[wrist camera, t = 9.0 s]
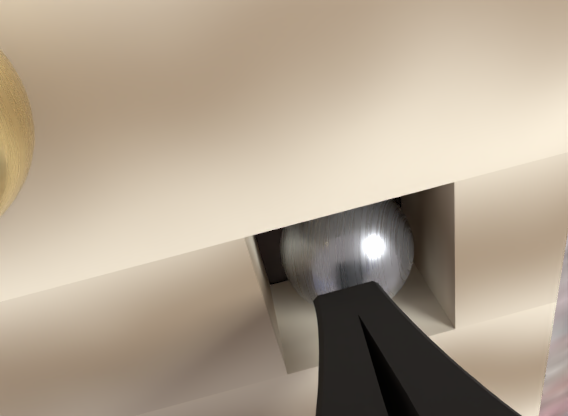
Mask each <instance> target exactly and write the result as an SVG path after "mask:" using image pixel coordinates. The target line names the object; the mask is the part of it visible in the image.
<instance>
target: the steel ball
mask: <svg viewBox="0 0 568 416" xmlns="http://www.w3.org/2000/svg"><path fill="white" fill-rule="evenodd" d="M280 256H281V262H282V266H283V269H284V271H285V274H286V276H287V278H288V280H289V282H290V283H291V285H292V286H293V288H294V289H295V290H296V291H297V293H298V294H299V295H300V296H301V297H303V298H304V299H305V300H306V301H307V302H309V303H310V304H312V305H314V303H313V300H314V299H315V298H316V297H317V296H318V295H321V294H325V293H329V292H333V291H336V290H340V289H344V288H347V287H351V286H355V285H359V284H362V283H366V282H370V281H375V282H377V283H379V285H380V286H381V287H382V288H383V290H384V291H385V292H386V293H387V294H388V295H389V297H390V298H391V299H392V298H393V297H394V296H395V295H396V294H397V293H398V291H399V290H400V289H401V288H402V286H403V285H404V283H405V282H406V280H407V278H408V276H409V273H410V271H411V267H412V264H413V259H414V240H413V234H412V230H411V227H410V224H409V222H408V220H407V218H406V216H405V214H404V213H403V211H402V210H401V208H400V207H399V206H398V205H397V204H396V203H395V201H394V200H393V199H388V200H385V201H381V202H377V203H373V204H369V205H366V206H362V207H358V208H354V209H350V210H347V211H343V212H339V213H335V214H332V215H328V216H324V217H320V218H316V219H313V220H309V221H305V222H301V223H297V224H294V225H290V226H286V227H283V229H282V233H281V239H280Z"/></svg>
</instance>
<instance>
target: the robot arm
mask: <svg viewBox="0 0 568 416" xmlns="http://www.w3.org/2000/svg"><path fill="white" fill-rule="evenodd" d="M313 303H314V307H315V311H316V316H317V324H318V339H319V368H318V393H317V404H316V415H315V416H522V415H520V414H519V413H518V412H516V411H515V410H514V409H512V408H511V407H510V406H508V405H507V404H506V403H504V402H503V401H502V400H501V399H499V398H498V397H497V396H496V395H494V394H493V393H492V392H491V391H489V390H488V389H487V388H486V387H484V386H483V385H482V384H481V383H480V382H478V381H477V380H476V379H475V378H474V377H473V376H471V375H470V374H469V373H468V372H467V371H465V370H464V369H463V368H462V367H461V366H460V365H458V364H457V363H456V362H455V361H454V360H453V359H452V358H451V357H449V356H448V355H447V354H446V353H445V352H444V351H443V350H442V349H441V348H440V347H439V346H438V345H437V344H435V343H434V342H433V341H432V340H431V339H430V338H429V337H428V336H427V335H426V334H425V333H424V332H423V331H422V330H421V329H420V328H419V327H418V326H417V325H416V324H415V323H414V322H413V321H412V320H411V319H410V318H409V317H408V316H407V315H406V314H405V313H404V312H403V311H402V310H401V309H400V308H399V307H398V306H397V304H396V303H395V302H394V301H393V300H392V299H391V298H390V297H389V295H388V294H387V293H386V292H385V291H384V290H383V288H382V287H381V286H380V285H379V283H377V282H375V281H370V282H366V283H362V284H359V285H355V286H351V287H347V288H344V289H340V290H336V291H333V292H329V293H325V294H321V295H318V296H317V297H316V298H315V299H314V300H313Z"/></svg>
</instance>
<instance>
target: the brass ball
mask: <svg viewBox="0 0 568 416" xmlns="http://www.w3.org/2000/svg"><path fill="white" fill-rule="evenodd" d="M34 145H35V127H34V121H33V115H32V109H31V105H30V102H29V99H28V95H27V92H26V90H25V88H24V86H23V84H22V81H21V79H20V77H19V75H18V74H17V72H16V70H15V69H14V67H13V65H12V64H11V62H10V61H9V60H8V58H7V57H6V56H5V54H4V53H3V52H2V50H1V49H0V217H1V216H2V215H3V214H4V213H5V211H6V210H7V209H8V208H9V206H10V205H11V204H12V203H13V201H14V200H15V199H16V198H17V196H18V194H19V192H20V190H21V188H22V186H23V184H24V182H25V180H26V178H27V176H28V173H29V170H30V167H31V163H32V158H33V151H34Z"/></svg>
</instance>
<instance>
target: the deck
mask: <svg viewBox="0 0 568 416" xmlns="http://www.w3.org/2000/svg"><path fill="white" fill-rule="evenodd" d="M0 49H1V50H2V52H3V53H4V54H5V56H6V57H7V58H8V60H9V61H10V62H11V64H12V65H13V67H14V69H15V70H16V72H17V74H18V75H19V77H20V79H21V81H22V84H23V86H24V88H25V90H26V92H27V95H28V99H29V102H30V105H31V109H32V115H33V121H34V127H35V145H34V151H33V158H32V163H31V167H30V170H29V173H28V176H27V178H26V180H25V182H24V184H23V186H22V188H21V190H20V192H19V194H18V196H17V198H16V199H15V200H14V201H13V203H12V204H11V205H10V206H9V208H8V209H7V210H6V211H5V213H4V214H3V215H2V216H1V217H0V416H315V415H316V404H317V393H318V368H319V339H318V324H317V316H316V311H315V307H314V305H312V304H310V303H309V302H307V301H306V300H305V299H304V298H303V297H301V296H300V295H299V294H298V293H297V291H296V290H295V289H294V288H293V286H292V285H291V283H290V282H289V280H288V281H284V282H280V283H276V284H272V285H270V284H269V280H268V277H267V274H266V270H265V267H264V264H263V260H262V257H261V254H260V250H259V247H258V244H257V240H256V237H255V235H256V234H259V233H263V232H267V231H271V230H275V229H278V228H282V227H286V226H290V225H294V224H297V223H301V222H305V221H309V220H313V219H316V218H320V217H324V216H328V215H332V214H335V213H339V212H343V211H347V210H350V209H354V208H358V207H362V206H366V205H369V204H373V203H377V202H381V201H385V200H388V199H392V198H396V197H400V196H401V205H402V211H403V213H404V214H405V216H406V218H407V220H408V222H409V224H410V227H411V230H412V234H413V240H414V259H413V264H412V267H411V271H410V273H409V276H408V278H407V280H406V282H405V283H404V285H403V286H402V288H401V289H400V290H399V291H398V293H397V294H396V295H395V296H394V297H393V298H392V300H393V301H394V302H395V303H396V304H397V306H398V307H399V308H400V309H401V310H402V311H403V312H404V313H405V314H406V315H407V316H408V317H409V318H410V319H411V320H412V321H413V322H414V323H415V324H416V325H417V326H418V327H419V328H420V329H421V330H422V331H423V332H424V333H425V334H426V335H427V336H428V337H429V338H430V339H431V340H432V341H433V342H434V343H435V344H437V345H438V346H439V347H440V348H441V349H442V350H443V351H444V352H445V353H446V354H447V355H448V356H449V357H451V358H452V359H453V360H454V361H455V362H456V363H457V364H458V365H460V366H461V367H462V368H463V369H464V370H465V371H467V372H468V373H469V374H470V375H471V376H473V377H474V378H475V379H476V380H477V381H478V382H480V383H481V384H482V385H483V386H484V387H486V388H487V389H488V390H489V391H491V392H492V393H493V394H494V395H496V396H497V397H498V398H499V399H501V400H502V401H503V402H504V403H506V404H507V405H508V406H510V407H511V408H512V409H514V410H515V411H516V412H518V413H519V414H520V415H522V416H539V410H540V404H541V397H542V391H543V385H544V379H545V372H546V366H547V360H548V353H549V347H550V341H551V334H552V328H553V322H554V316H555V309H556V303H557V297H558V290H559V284H560V278H561V271H562V265H563V259H564V252H565V246H566V240H567V234H568V0H0Z"/></svg>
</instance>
